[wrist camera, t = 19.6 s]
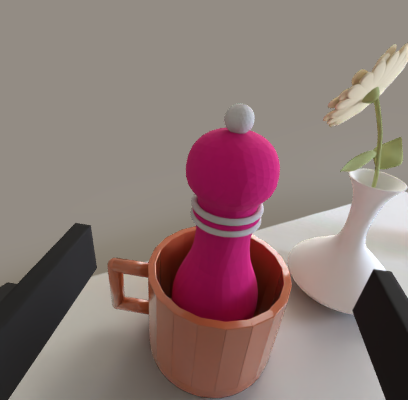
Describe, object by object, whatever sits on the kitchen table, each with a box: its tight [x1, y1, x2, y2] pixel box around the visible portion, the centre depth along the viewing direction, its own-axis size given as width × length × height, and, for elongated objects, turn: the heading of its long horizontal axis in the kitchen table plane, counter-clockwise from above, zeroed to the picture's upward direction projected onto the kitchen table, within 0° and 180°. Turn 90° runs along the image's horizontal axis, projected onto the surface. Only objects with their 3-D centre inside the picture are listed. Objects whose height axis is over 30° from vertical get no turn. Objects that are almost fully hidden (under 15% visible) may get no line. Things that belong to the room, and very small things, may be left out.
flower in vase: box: [288, 43, 408, 315], centre depth 27 cm, size 13×11×25 cm
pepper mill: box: [172, 104, 280, 322], centre depth 21 cm, size 7×7×20 cm
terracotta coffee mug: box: [108, 226, 292, 398], centre depth 25 cm, size 15×11×8 cm
